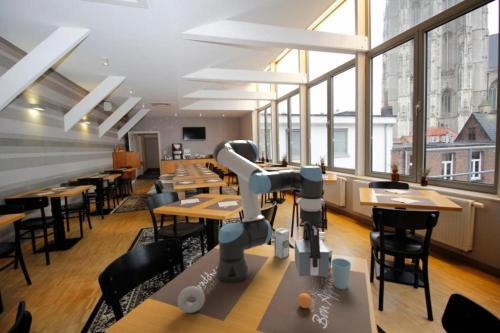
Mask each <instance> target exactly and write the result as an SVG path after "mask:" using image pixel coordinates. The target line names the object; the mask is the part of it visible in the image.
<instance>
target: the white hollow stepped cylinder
mask: <svg viewBox="0 0 500 333" xmlns="http://www.w3.org/2000/svg"><path fill="white" fill-rule="evenodd" d="M320 235H321V236H320ZM325 236H326V232H324V231H319V240H321V241H322V242H323V243H324V240H325V239H326V237H325Z"/></svg>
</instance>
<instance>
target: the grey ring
mask: <svg viewBox="0 0 500 333" xmlns="http://www.w3.org/2000/svg"><path fill="white" fill-rule="evenodd" d="M205 296H206V295H205V292H204V291H203V289H201V288H200V287H199V286H195V285H190V286H186V287H185V288H183V289H182V290H181V291H180V292H179V294H178V297H177V301H176V302H177V306H178V308H179V309H180V310H181V311H182V312H183V313H187V314H193V313H196V312H198V311H200V310H201V308H202V307H203V306H204V304H205V301H206V297H205ZM189 297H193V298H195V301H193V302H189V301H188V299H189Z"/></svg>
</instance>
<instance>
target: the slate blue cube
mask: <svg viewBox="0 0 500 333" xmlns="http://www.w3.org/2000/svg"><path fill="white" fill-rule="evenodd" d="M319 242H320V256H321V258H320V259H319V269H318V275H310V258H309V256H311V250H310V240H304V239H303V240H300V239H299V240H297V239H296V240H294V263H295V266H296V269H297V273H298V276H299V277H329V276H330V275H329V251H328V250H327V248H326V247H325V245H326V244H324V241H323V242H322V239H321V240H319Z"/></svg>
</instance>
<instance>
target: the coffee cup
mask: <svg viewBox="0 0 500 333" xmlns="http://www.w3.org/2000/svg"><path fill="white" fill-rule="evenodd" d="M324 245H325V247H326V248H327V250H328V251H329V276H330V275H331V270H332V260H333V259H332V255H333V248H332V247H331V245H327V244H324Z"/></svg>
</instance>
